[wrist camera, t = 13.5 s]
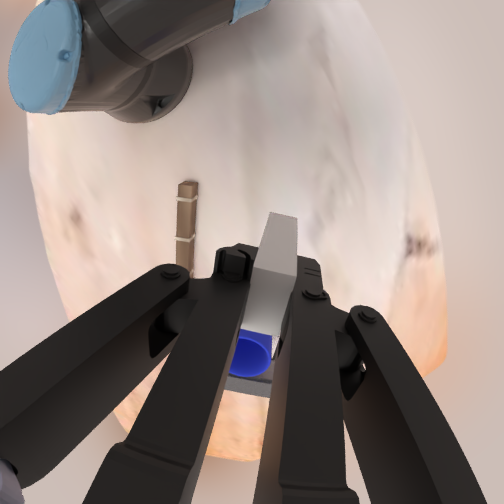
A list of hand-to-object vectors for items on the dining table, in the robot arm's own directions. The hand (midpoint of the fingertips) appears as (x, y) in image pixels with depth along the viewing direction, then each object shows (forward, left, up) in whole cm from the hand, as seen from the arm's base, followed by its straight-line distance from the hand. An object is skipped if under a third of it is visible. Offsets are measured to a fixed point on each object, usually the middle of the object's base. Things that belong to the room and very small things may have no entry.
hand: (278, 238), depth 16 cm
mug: (-4, -24, -25) cm, 35 cm away
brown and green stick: (-14, -18, -25) cm, 34 cm away
